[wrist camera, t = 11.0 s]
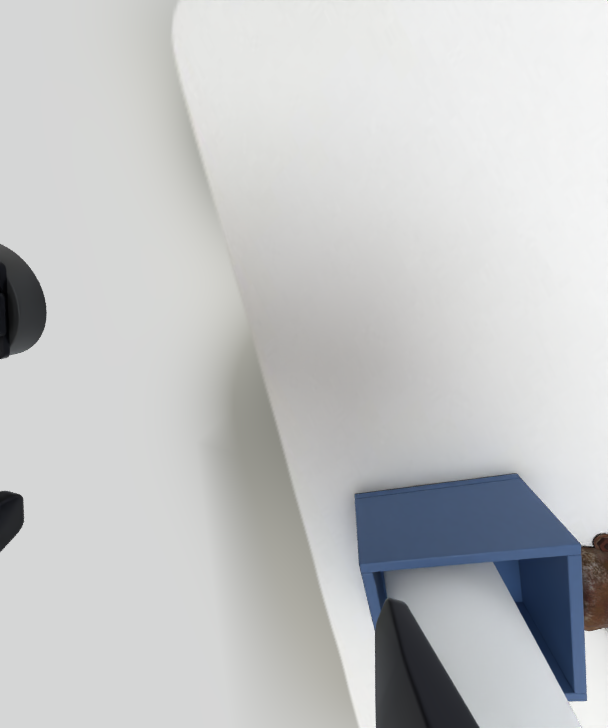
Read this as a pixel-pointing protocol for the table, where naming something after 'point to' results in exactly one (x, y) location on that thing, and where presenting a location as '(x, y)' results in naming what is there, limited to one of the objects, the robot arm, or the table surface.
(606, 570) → the telephone
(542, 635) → the bin
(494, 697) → the can
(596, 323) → the table surface
